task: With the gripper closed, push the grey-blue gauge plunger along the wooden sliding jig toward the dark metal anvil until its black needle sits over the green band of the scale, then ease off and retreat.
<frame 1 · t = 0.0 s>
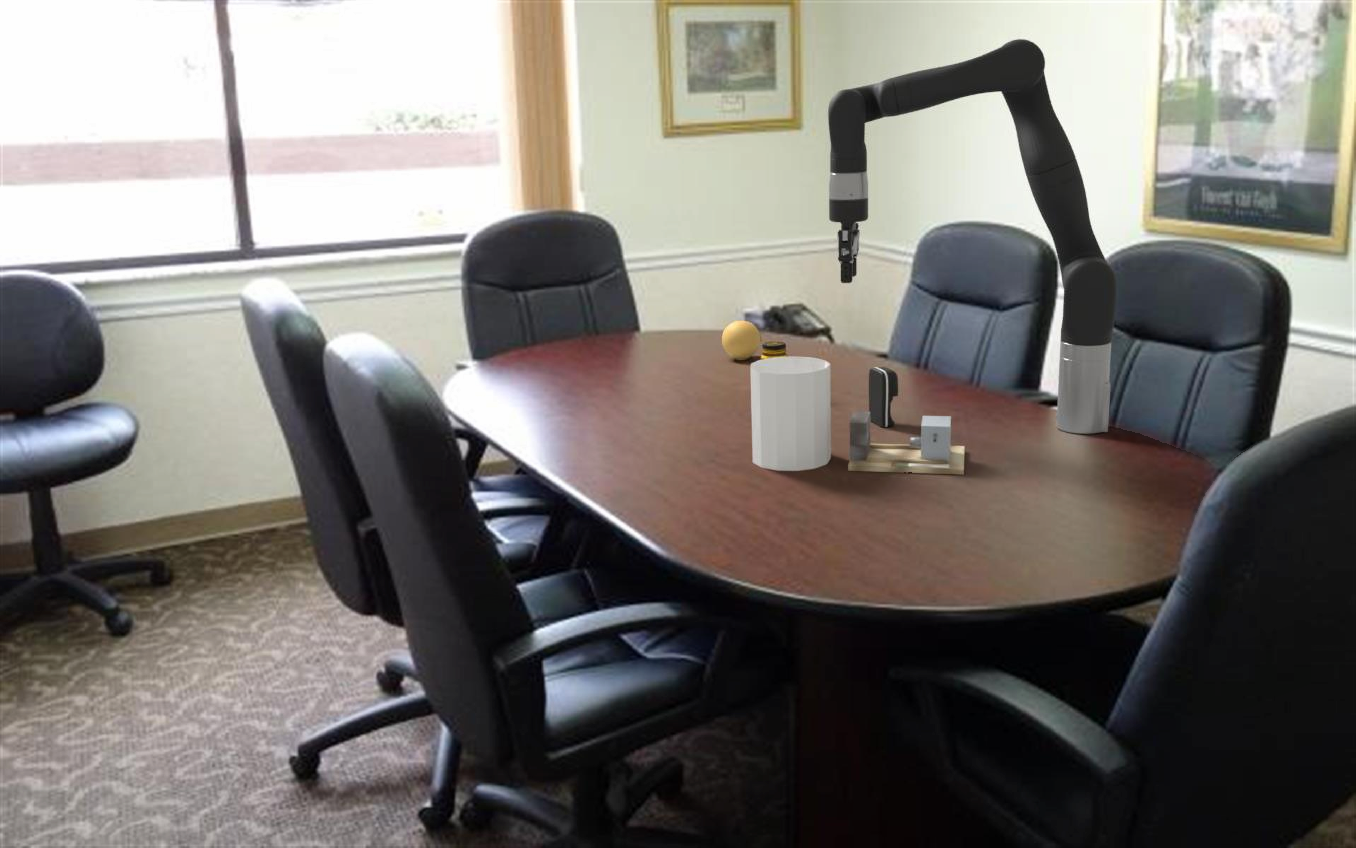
hand: (848, 279, 234), 29 cm above the table, tool pointing down, fingers open, 8 cm apart
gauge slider: (929, 441, 212), point 4 cm above the table, slide at 0.0 cm
stress ball: (742, 360, 304), on the table
battery charger: (883, 424, 240), on the table
wooden sliding jig: (907, 460, 216), on the table
condiment: (773, 395, 267), on the table
container: (791, 460, 220), on the table
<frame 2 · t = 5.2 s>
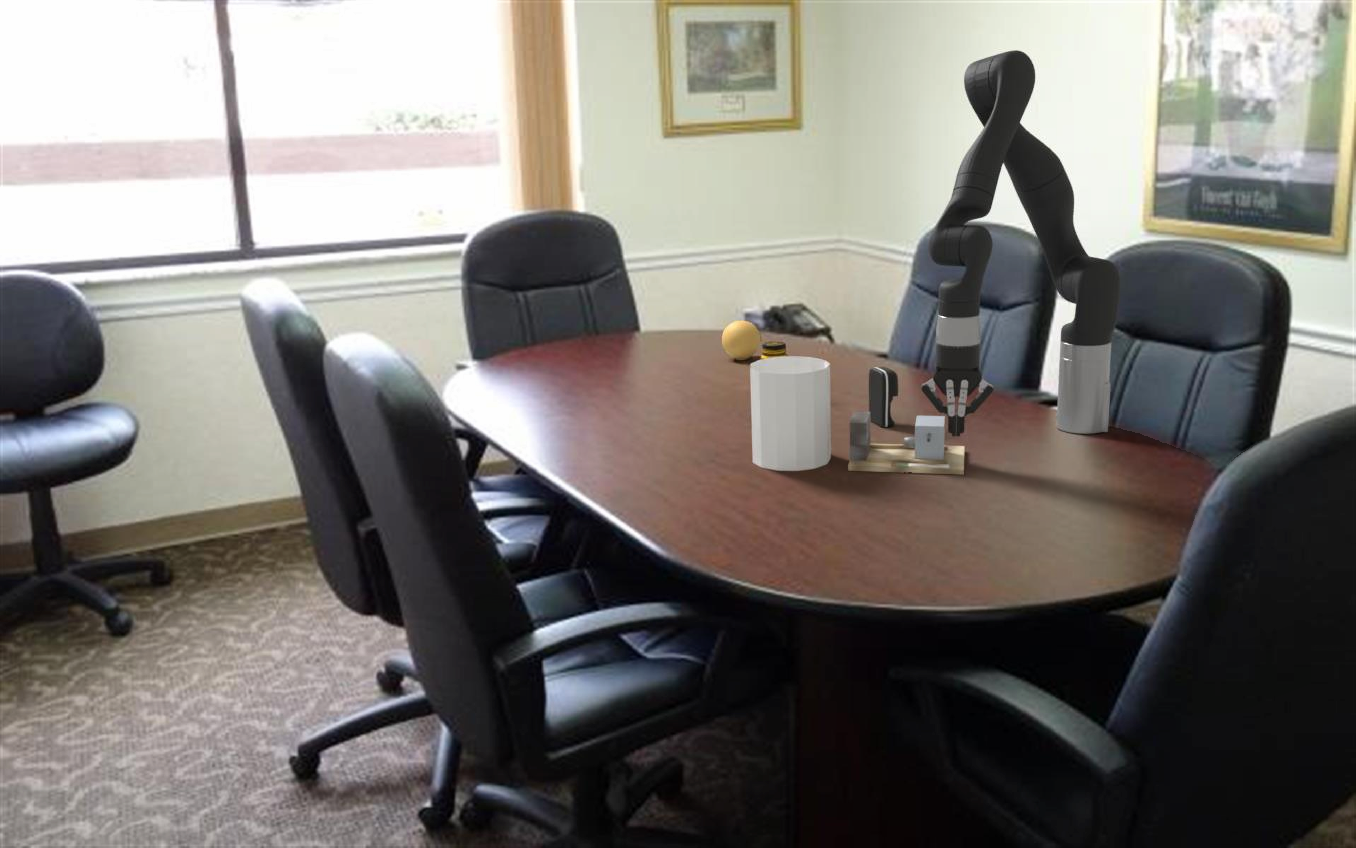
hand: (955, 435, 212), 5 cm above the table, tool pointing down, fingers closed
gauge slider: (923, 440, 212), point 4 cm above the table, slide at 1.1 cm, touching gripper
everything else where it was.
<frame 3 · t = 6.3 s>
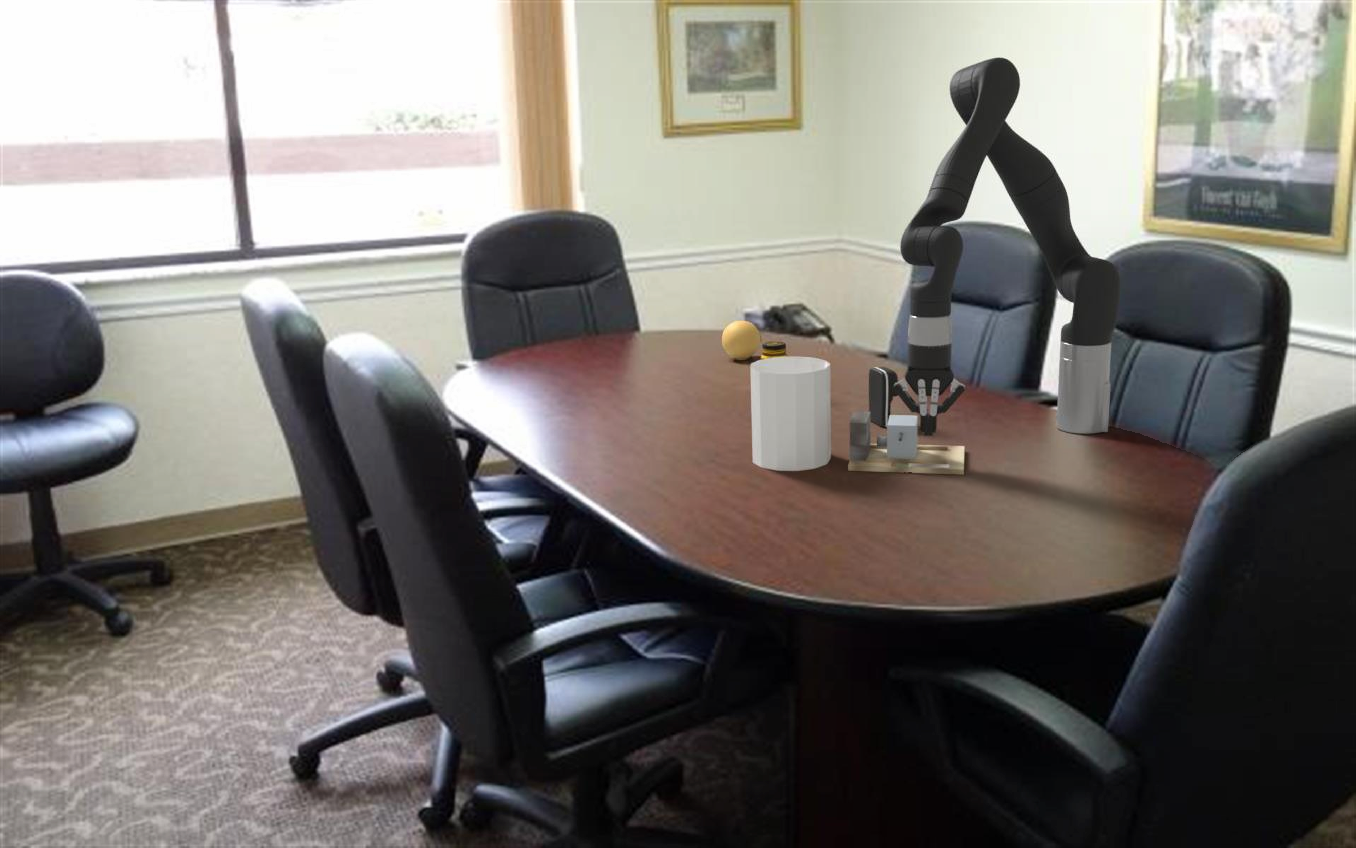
hand: (928, 434, 213), 5 cm above the table, tool pointing down, fingers closed
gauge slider: (896, 440, 213), point 4 cm above the table, slide at 5.9 cm, touching gripper
everything else where it was.
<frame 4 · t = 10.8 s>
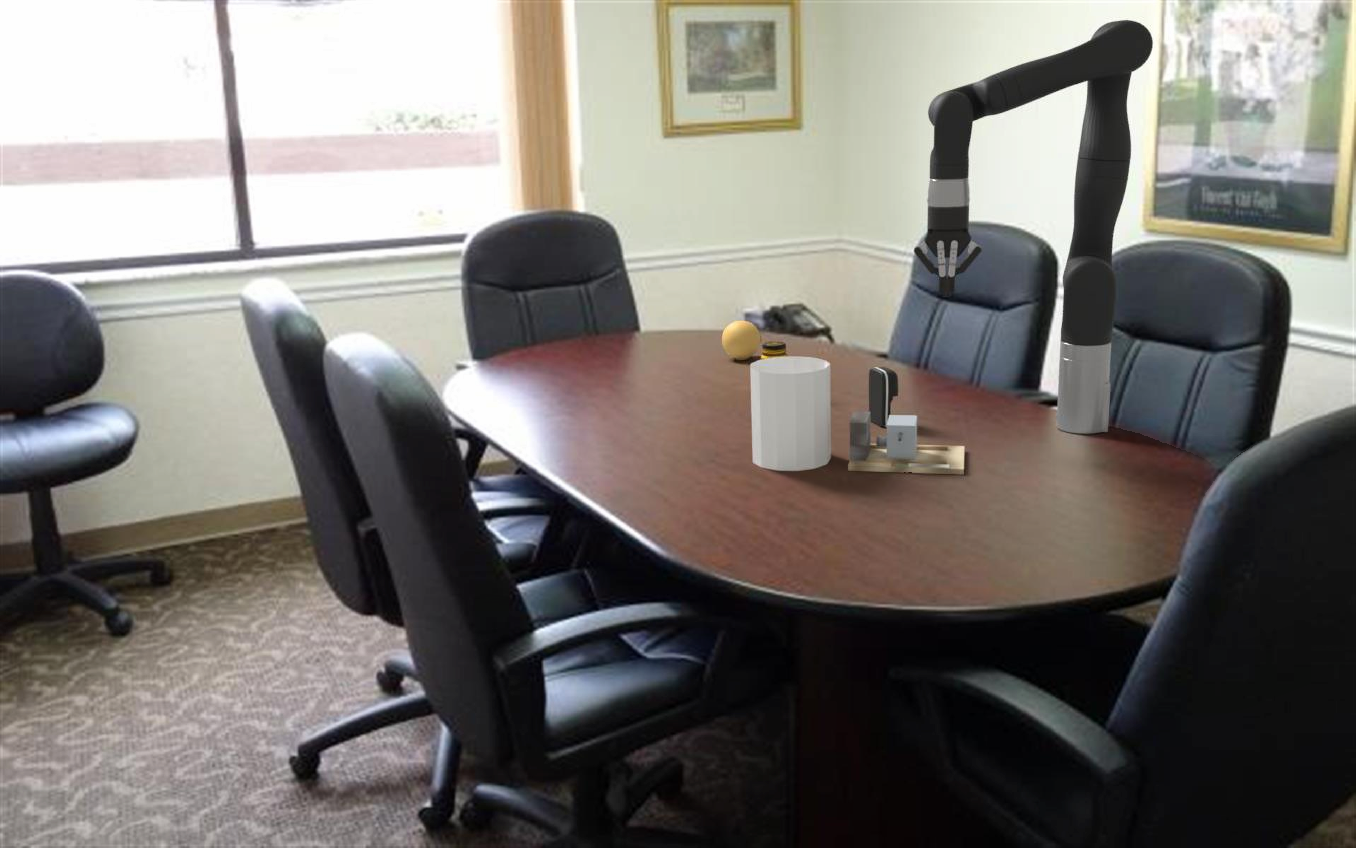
hand: (946, 295, 225), 27 cm above the table, tool pointing down, fingers closed
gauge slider: (895, 440, 213), point 4 cm above the table, slide at 6.0 cm
everything else where it was.
at the end: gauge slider slide at 6.0 cm; the gripper is holding nothing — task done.
